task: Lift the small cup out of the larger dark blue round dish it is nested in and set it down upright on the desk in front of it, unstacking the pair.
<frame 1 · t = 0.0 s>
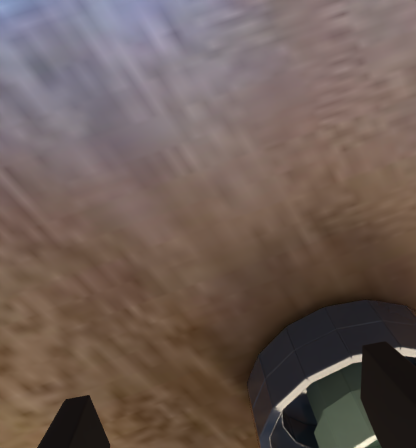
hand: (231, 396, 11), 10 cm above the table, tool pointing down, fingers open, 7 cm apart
small cup: (344, 378, 25), point 1 cm above the table, touching dark blue round dish
dark blue round dish: (340, 371, 25), on the table, touching small cup
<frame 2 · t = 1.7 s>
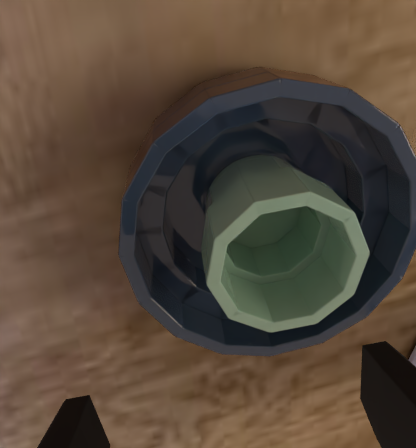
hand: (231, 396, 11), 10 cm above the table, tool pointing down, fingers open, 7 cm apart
small cup: (256, 204, 19), point 1 cm above the table, touching dark blue round dish
dark blue round dish: (254, 199, 19), on the table, touching small cup
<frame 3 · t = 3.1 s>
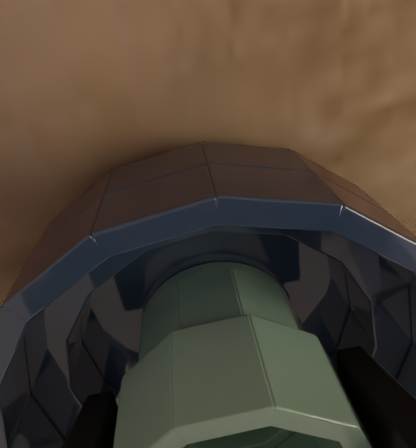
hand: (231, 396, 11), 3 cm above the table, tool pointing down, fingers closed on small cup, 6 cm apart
small cup: (217, 324, 13), point 1 cm above the table, touching gripper, dark blue round dish
dark blue round dish: (216, 312, 14), on the table, touching small cup
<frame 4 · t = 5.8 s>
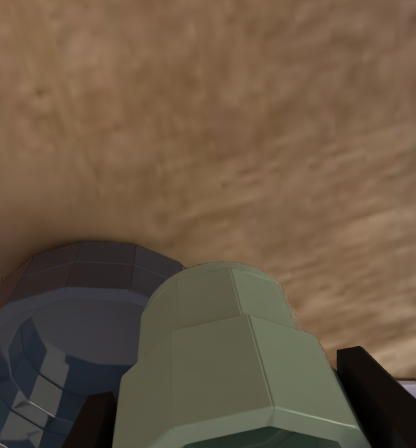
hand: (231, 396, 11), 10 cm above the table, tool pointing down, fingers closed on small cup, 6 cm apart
small cup: (217, 324, 13), point 7 cm above the table, touching gripper
dark blue round dish: (109, 332, 22), on the table
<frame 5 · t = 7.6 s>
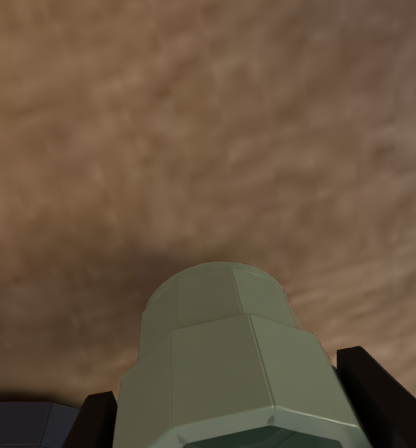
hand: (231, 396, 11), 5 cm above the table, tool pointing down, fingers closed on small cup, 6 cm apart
small cup: (217, 324, 13), point 2 cm above the table, touching gripper
when the fingers open (3 cm above the table, at t = 8.8 s): small cup stays where it is, on the table.
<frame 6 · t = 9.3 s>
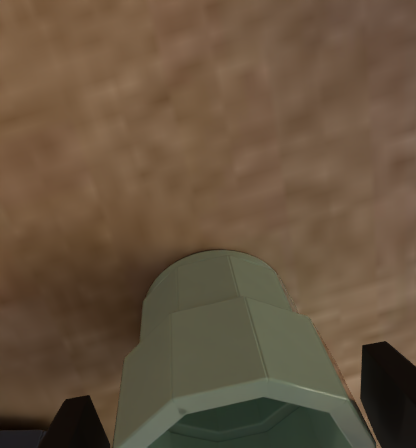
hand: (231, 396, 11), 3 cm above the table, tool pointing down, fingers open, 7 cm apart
small cup: (216, 311, 13), on the table
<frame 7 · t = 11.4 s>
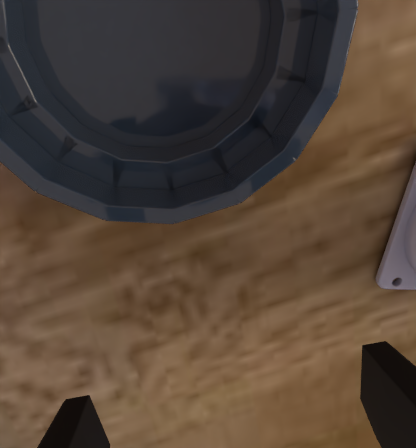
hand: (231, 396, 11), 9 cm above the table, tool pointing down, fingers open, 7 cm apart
dark blue round dish: (150, 28, 15), on the table
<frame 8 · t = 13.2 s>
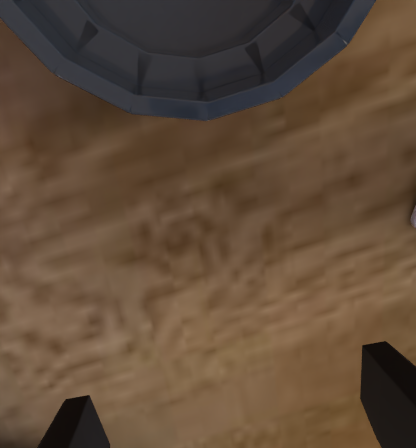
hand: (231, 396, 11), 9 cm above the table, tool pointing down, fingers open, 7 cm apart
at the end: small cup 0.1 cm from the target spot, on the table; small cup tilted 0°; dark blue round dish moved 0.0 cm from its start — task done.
